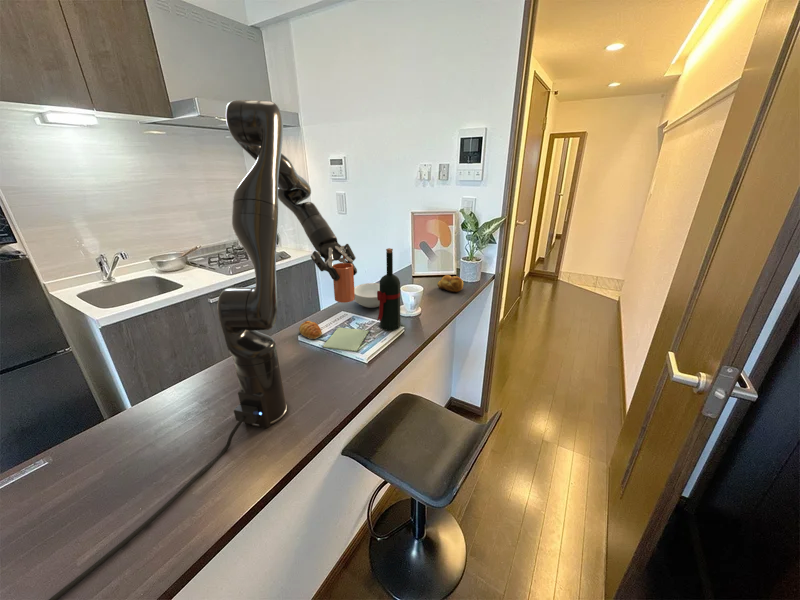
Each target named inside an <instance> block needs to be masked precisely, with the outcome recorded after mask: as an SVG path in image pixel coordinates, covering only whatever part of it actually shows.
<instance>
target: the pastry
mask: <svg viewBox="0 0 800 600" xmlns="http://www.w3.org/2000/svg"><path fill="white" fill-rule="evenodd" d="M298 331H299V334H300V335H302V336H303V337H305V338H308V339H309V340H312V339H313V340H315V339H318V338H320V337H322V334H323V331H322V328H321V327H320V325H318V323H316V322H315V321H311V320H306V321H304V322H302V323H301V324H300V325H299V327H298Z"/></svg>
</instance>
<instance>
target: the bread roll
mask: <svg viewBox="0 0 800 600" xmlns="http://www.w3.org/2000/svg"><path fill="white" fill-rule="evenodd" d="M437 287H438V288H439V289H440V290H444V291H447V292H449V293H450V292H451V293H458V292H461V291H462V290H463V288H464V281H463V279H462V278H461V277H459V276H456V275H453V276H451V275H449V274H445V275H444V276H442V278H441V279H440V280H439V281H438V282H437Z"/></svg>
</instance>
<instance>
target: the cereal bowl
mask: <svg viewBox="0 0 800 600" xmlns="http://www.w3.org/2000/svg"><path fill="white" fill-rule="evenodd" d="M377 291H380V283H376V282H369V283H361V284H358V285H355V286H354V293H355V299H354V300H353V301H355V302H356V303H357V304H358V305H360V306H362V307H365V308H369V309H375V308H379V304H380V301H378V299H377Z"/></svg>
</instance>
